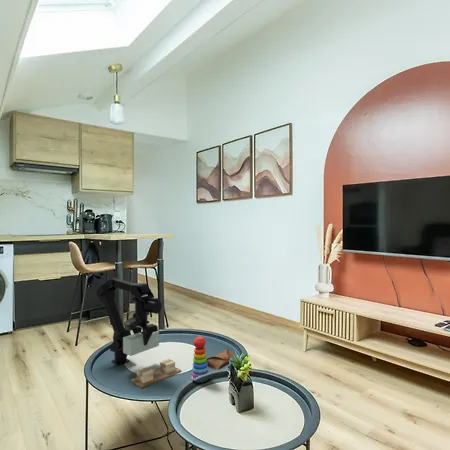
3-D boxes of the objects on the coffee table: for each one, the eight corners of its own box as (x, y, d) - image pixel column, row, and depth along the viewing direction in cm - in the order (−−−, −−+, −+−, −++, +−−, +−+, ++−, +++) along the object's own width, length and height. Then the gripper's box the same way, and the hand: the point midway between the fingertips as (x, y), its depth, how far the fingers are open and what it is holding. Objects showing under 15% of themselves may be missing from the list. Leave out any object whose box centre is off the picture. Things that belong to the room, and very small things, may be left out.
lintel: (123, 352, 151) (123, 337, 151) (151, 342, 164) (151, 328, 164) (130, 356, 148) (130, 340, 148) (159, 345, 160) (159, 331, 160)
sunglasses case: (217, 370, 153) (212, 356, 155) (207, 374, 157) (202, 360, 159) (240, 357, 167) (234, 345, 169) (230, 362, 171) (225, 349, 173)
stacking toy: (210, 376, 148) (210, 334, 148) (208, 384, 140) (208, 340, 140) (193, 375, 148) (193, 333, 148) (189, 383, 141) (189, 340, 140)
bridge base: (130, 381, 143) (130, 370, 143) (169, 365, 158) (169, 356, 158) (141, 388, 137) (141, 377, 137) (181, 371, 152) (181, 361, 152)
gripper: (115, 310, 156) (115, 343, 156) (137, 318, 143) (137, 354, 143) (136, 306, 164) (136, 337, 164) (158, 312, 152) (158, 346, 152)
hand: (141, 343), depth 156 cm, fingers closed on lintel, 6 cm apart
